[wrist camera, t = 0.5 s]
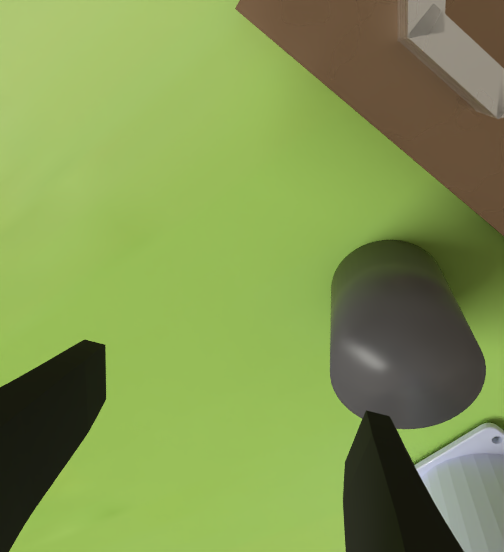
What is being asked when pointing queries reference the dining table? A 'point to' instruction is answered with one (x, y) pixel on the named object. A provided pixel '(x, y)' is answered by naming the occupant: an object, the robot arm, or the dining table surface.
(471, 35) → the octagonal socket plate
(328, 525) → the dining table surface
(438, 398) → the dark grey cylinder peg
